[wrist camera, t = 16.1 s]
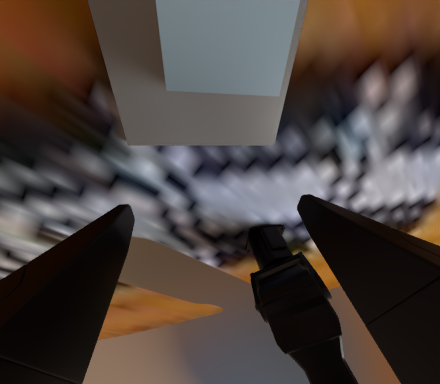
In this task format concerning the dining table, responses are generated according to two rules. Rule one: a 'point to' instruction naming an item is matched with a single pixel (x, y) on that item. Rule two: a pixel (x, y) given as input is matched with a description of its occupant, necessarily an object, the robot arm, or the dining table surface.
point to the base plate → (176, 100)
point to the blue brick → (226, 44)
